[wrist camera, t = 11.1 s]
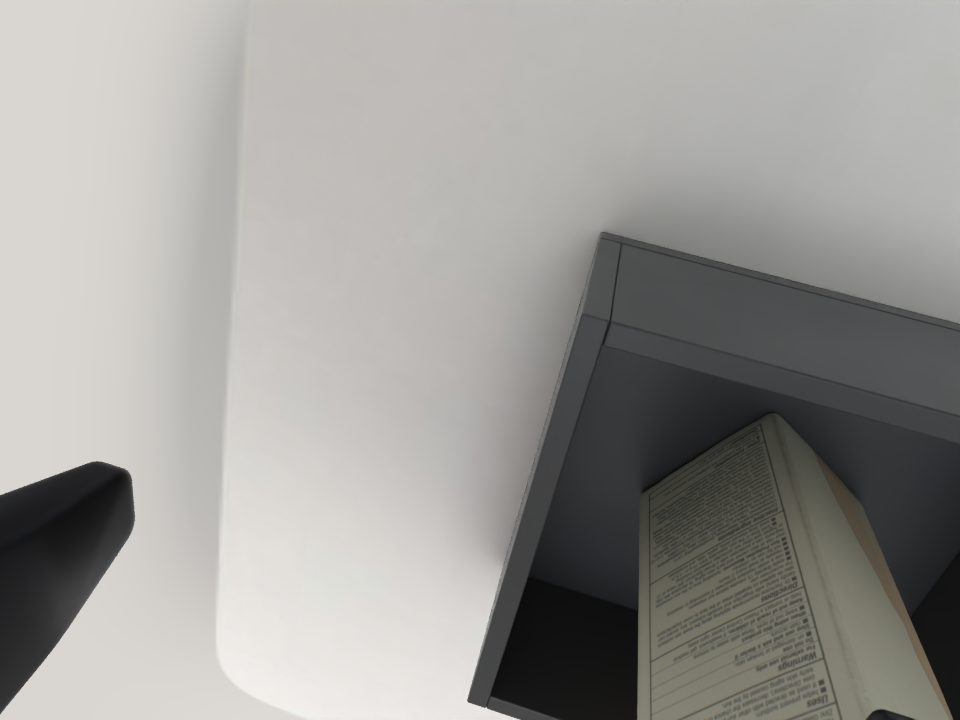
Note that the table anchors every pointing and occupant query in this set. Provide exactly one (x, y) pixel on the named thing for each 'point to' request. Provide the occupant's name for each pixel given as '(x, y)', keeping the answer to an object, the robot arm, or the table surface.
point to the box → (770, 593)
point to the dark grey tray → (695, 429)
